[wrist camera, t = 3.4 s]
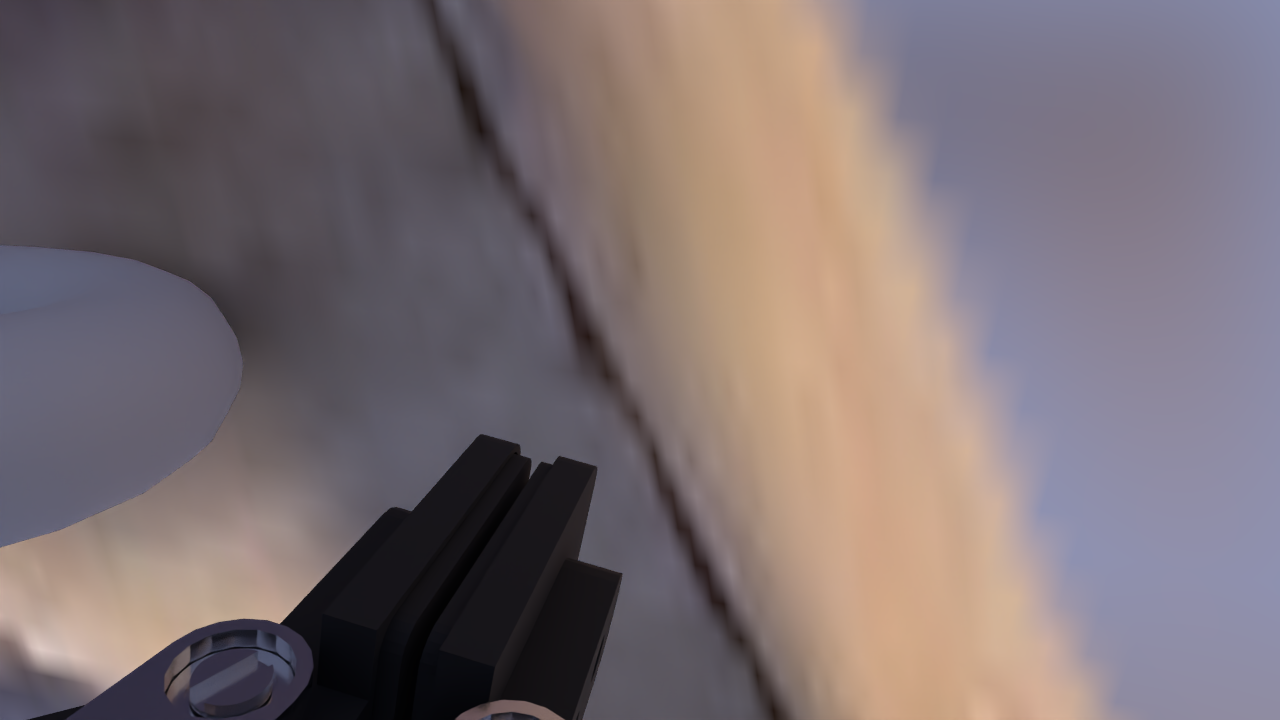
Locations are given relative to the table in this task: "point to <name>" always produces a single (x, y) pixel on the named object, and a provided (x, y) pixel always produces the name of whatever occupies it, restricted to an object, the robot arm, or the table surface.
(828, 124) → the table surface
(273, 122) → the table surface
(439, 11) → the table surface
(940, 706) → the table surface
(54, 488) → the donut
